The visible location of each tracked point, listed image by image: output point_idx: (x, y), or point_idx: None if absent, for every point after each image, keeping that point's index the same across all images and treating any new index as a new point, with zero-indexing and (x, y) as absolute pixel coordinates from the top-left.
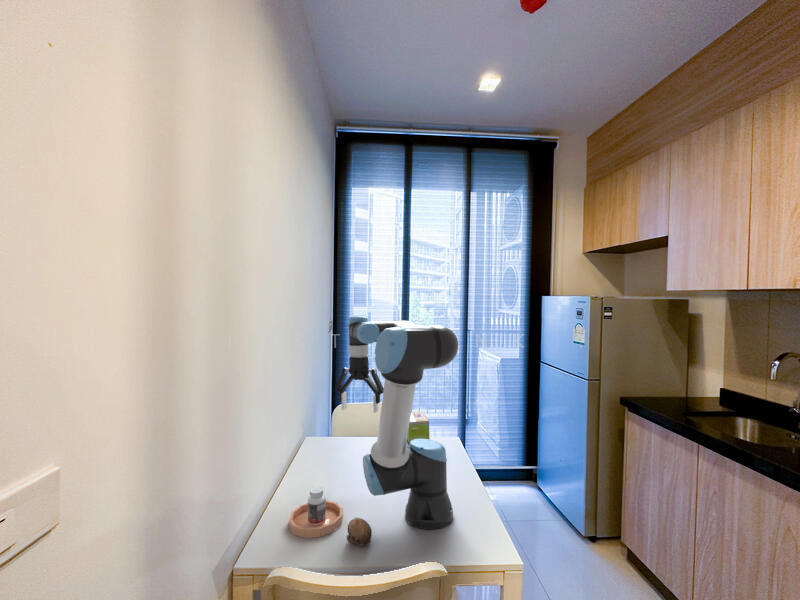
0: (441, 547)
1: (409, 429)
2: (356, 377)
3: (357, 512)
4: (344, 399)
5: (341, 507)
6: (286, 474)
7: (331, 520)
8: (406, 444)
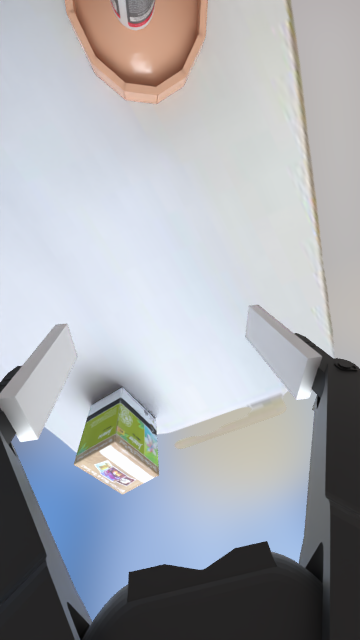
0: None
1: (115, 426)
2: (249, 625)
3: (73, 107)
4: (274, 345)
5: (96, 66)
6: (313, 223)
7: (100, 20)
8: (140, 407)
